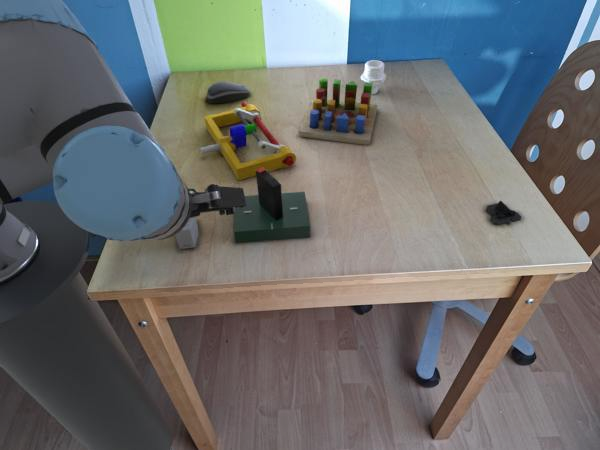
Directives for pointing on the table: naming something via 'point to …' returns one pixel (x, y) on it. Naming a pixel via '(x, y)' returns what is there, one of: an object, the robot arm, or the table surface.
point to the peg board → (340, 115)
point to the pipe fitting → (374, 74)
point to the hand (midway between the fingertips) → (175, 214)
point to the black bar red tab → (269, 193)
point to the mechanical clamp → (239, 139)
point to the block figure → (502, 214)
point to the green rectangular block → (272, 220)
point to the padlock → (188, 235)
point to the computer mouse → (226, 92)
